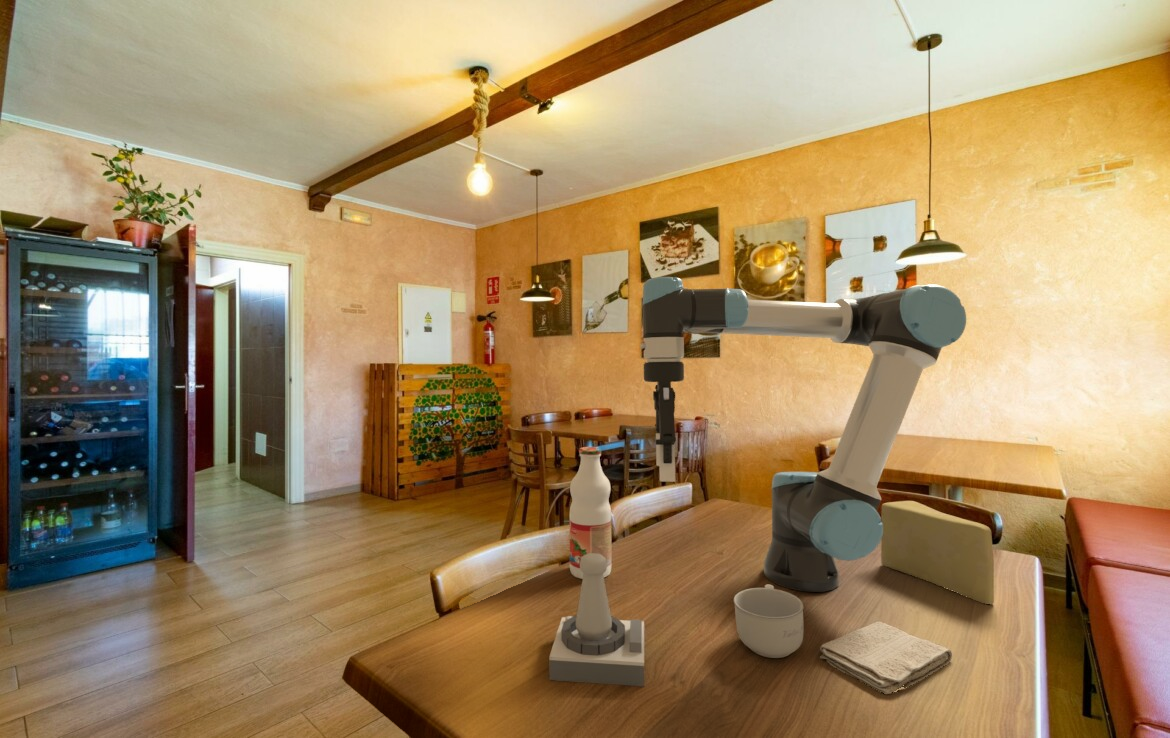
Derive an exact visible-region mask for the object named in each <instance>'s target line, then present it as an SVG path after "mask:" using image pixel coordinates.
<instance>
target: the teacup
mask: <svg viewBox="0 0 1170 738" xmlns="http://www.w3.org/2000/svg"><path fill="white" fill-rule="evenodd" d="M733 604H734V613H735V615H734V616H735V624H736V631H737V634H738V637H739V639H740V641H741V642H742V643H743V644H744V645H745V646H746V647H748V648H749V649H750V650H751V651H752V652H754V653H755V654H757V655H759V656H760V657H761V656H762V657H765V658H770V659H781V658H785V657H787V656H789V655H791V654H792V653H794V652H795V651H797V650H798V649H799V648H800V646H802V644H803V639H804V612H803V610H804V604H803V601H802V600H801V599H800V598H799V597H798V596H796V595H795V594H793V593H790V592H789V591H785V590H782V589H776V588H775V587H774V585H773V584H765V585H764V587H751V588H747V589H743V590H740V591H739V592H737V593H736V594H735V595H734V597H733Z"/></svg>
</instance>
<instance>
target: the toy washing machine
mask: <svg viewBox="0 0 1170 738" xmlns="http://www.w3.org/2000/svg"><path fill="white" fill-rule="evenodd" d="M576 618H577V614H575V615H573V616H571V615H567V616H562V617H561V620H560V622H559V626H558V628H557V631H556V635H555V638H554V642H553V643H552V648H551V650H550V654H549V659H548V660H549V663H548V664H549V668H548V670H549V681H559V682H571V683H573V682H575V683H585V684H586V683H589V684H601V685H602V684H603V685H617V686H629V687H630V686H633V687H634V686H635V687H645V621H642V619H635V618H634V619H630V620H623V619H619V618H618V617H616V616H612V615H611V619H612V627H611V630H610V632H609V635H608V637H607V639H605V640H601V641H585V640H582V639H581V638H580V636H579V633H578V631H577V628H576Z"/></svg>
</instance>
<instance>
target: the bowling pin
mask: <svg viewBox="0 0 1170 738" xmlns="http://www.w3.org/2000/svg"><path fill="white" fill-rule="evenodd" d="M606 569H607V561H606V558H605V557H604V556H603V555H601V554H596V553H591V554H586V555H584V556H583V557H582V558H581V561H580V570H581V571H582V572H583V573H584V574H583V579H581V580H582V581H581V586H580V594H579V600H578V607H577V610H576V611H577V613H576V615H577V618H576V628H577V631H578V633H579V636H580V638H581V639H582V640H585V641H601V640H605V639H607V637H608V635H609V632H610V630H611V627H612V619H611V616H612V615H611V610H610V604H609V600H608V596H607V595H608V594H607V589H606V583H605V577H603V573H604V572H605V571H606Z"/></svg>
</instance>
